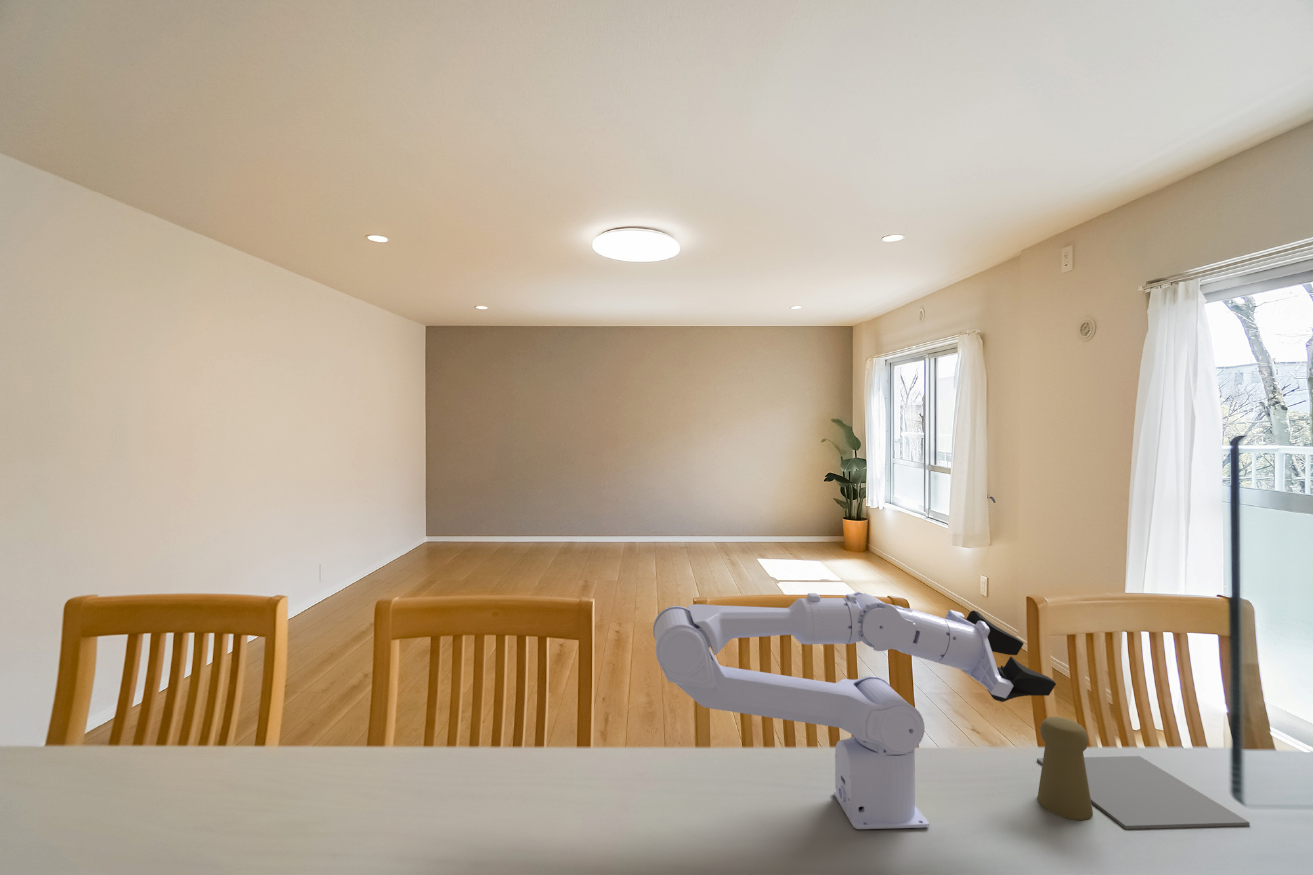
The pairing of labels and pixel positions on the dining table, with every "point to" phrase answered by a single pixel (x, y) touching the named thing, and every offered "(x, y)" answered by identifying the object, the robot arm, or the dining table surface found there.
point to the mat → (1150, 796)
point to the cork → (1064, 769)
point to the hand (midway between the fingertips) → (1034, 667)
